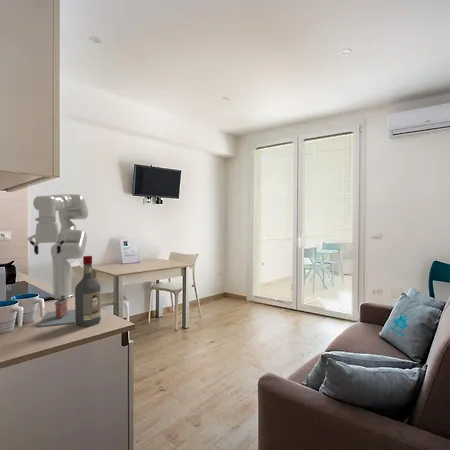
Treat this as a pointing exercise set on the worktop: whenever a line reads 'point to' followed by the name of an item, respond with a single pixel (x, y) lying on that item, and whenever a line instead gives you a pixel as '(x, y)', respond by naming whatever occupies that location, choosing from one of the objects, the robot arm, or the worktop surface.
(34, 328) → the worktop surface
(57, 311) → the lighter
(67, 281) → the robot arm
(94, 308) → the liquor
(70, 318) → the mat
